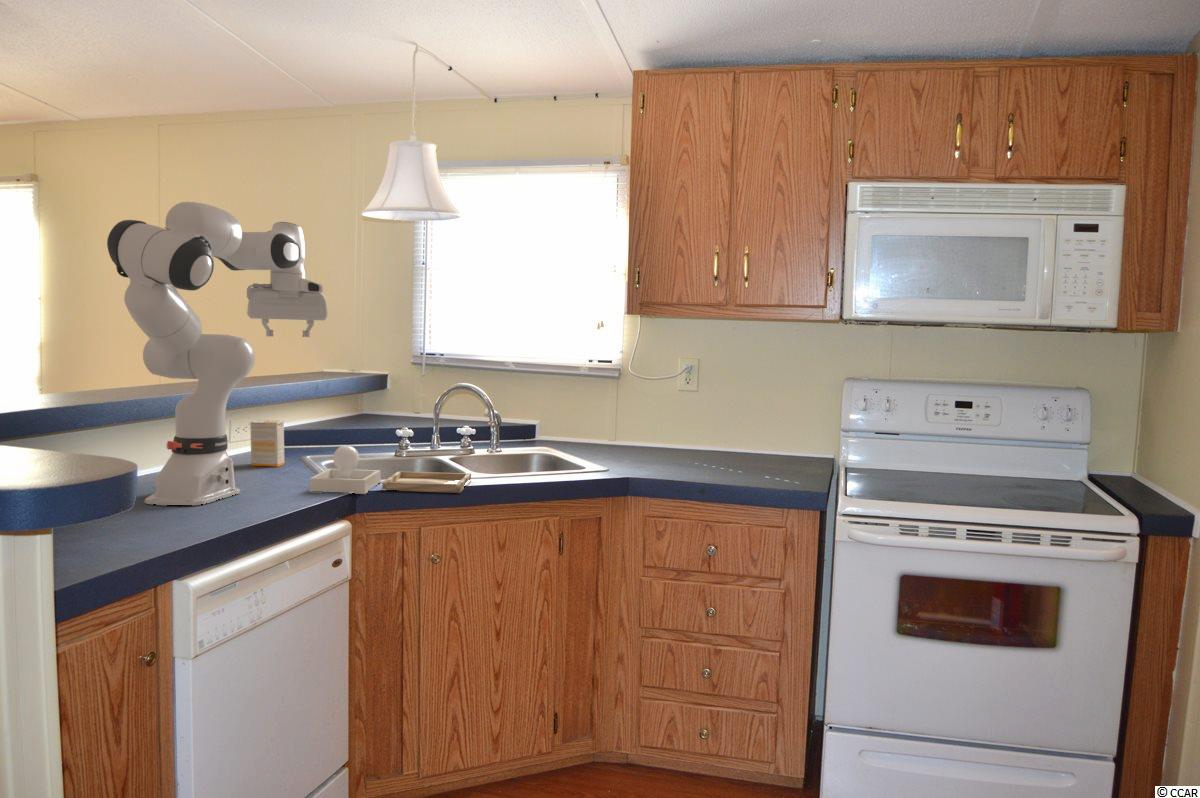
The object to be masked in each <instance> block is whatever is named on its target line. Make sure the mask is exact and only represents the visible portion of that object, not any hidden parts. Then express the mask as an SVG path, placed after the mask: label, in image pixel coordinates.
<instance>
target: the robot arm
mask: <svg viewBox="0 0 1200 798" xmlns="http://www.w3.org/2000/svg"><path fill="white" fill-rule="evenodd" d="M106 247H107V251H108V254H109V258H110V259H111V261H112V263H114V265H115V266H116V267H115V268H116V272H117V273H118V274H119V276H121V277H123V278H128V279H129V285H128V286H127V288H126V290H125V292H124V295H123V296H124V304H125V307H126V309H127V310H128V312H129V314H130V316H131V317H132V320H133V321H134V322H135V323H136V325H137V327H139V329H141V331H142V332H143V333H144V334H145V335H146V336H147V338H148V340H147V342H146V343H145V345H144V347H143V350H142V360H143V364H144V365H145V367H146V369H147V370H148V371H149V373H150V374H152V375H155V376H159V377H163V378H168V379H173V380H174V379H177V380H178V379H180V380H181V379H183V380H197V387H196V389H195V391H194V392H192V393H189V394H188V395H186V396H184V397H182V398H181V399H179V401H178V402H177V403H176V406H175V409H174V410H175V411H174V415H175V416H174V417H175V421H174V422H175V436H173V439H172V440H169V441H167V442H166V449H167V450H171V451H170V452H171V455H170V456H169V459H167V460H166V463H165V464H164V465H163V467H162V468H161V470H160V471H159V473H158V475H157V477H156V482H155V484H156V485H155V488H156V490H155V492H154V493H153V494H150V495H149V496H147V497H146V498H144V503H145V504H146V505H147V504H148V505H153V504H156V505H155V506H167V505H192V506H202V505H201V504H203V505H207V504H209V503H212V502H216V500H217V501H219V500H218V499H220V500H223V499H225V498H229V497H232V495H233V496H236V495H239V494H241V489H240V487H239V488H238V487H236V482H235V471H234V461H233V459H232V458H231V457H230V455H228V452H227V450H228V444H229V440H228V435H227V434H226V416H227V415H226V413H227V405H228V401H229V397H230V395H231V393H232V391H233V389H234V388H235V386H236V385H237V384H238V383H239V382H241V381H242V380H243V379H244V378H245V377H247V376H248V375H249V374H250V373H251V371H252V369H253V368H254V365H255V360H256V358H255V356H256V355H255V351H254V348H253V346H252V344H251V343H250V342H249V341H248V340H247V339H246V338H242V337H239V336H235V335H229V334H214V333H213V334H212V333H209V334H208V333H202V330H203V327H202V321H201V319H200V317H199V316H198V315H197V313H196V312H195V311H194V310H193V308H192V307H191V306H190V305H189V304H188V303H187V301H186V300H185V299H184V297H183V296H182V295H181V294H180V293H179V292H178V290H183V291H197V290H200V289H201V288H203V287H204V286H205V285H206V284H207V283H208V282H209V280H210V279H211V277H212V275H213V272H214V267H215V264H214V258H215V259H218V260H219V261H220V262H222V263H223V265H224V266H225V267H226V268H228V269H229V270H231V271H234V272H235V271H236V272H237V271H245V270H247V271H248V270H250V271H267V270H268V271H270V275H269V276H270V277H269V278H270V279H269V280H270V281H269V282H270V283H252V284H251V285H248V287H247V289H246V297H247V300H248V301H247V309H246V311H247V312H246V314H247V317H248V318H250V319H254V320H257V319H258V320H259V319H260V320H261V325H262V326H263V328H264V330H265V337H274V329H270V327H269V325H268V324H269V323H270V321H269V320H291V321H292V320H293V321H294V320H298V321H306V325H307V327H306V329H305V330H302V338H310V336H311V335H310V332H311V330H312V328H313V327H314V325H315V321H325V320H326V319H327V318H328V304H327V300H326V296H325V295H324V294H323V292H324V286H323V285H322V284H321V283H318V282H314V281H312V280H309V279H306V271H305V266H304V265H305V260H306V244H305V236H304V231H303V229H302V227H301V226H299V225H298V224H296V223H292V222H287V221H278V222H275V223H273V224H272V227H271V229H270V230H268V231H243V230H242V226H241V223H240V222H239V219H237V218H236V217H235V216H234V215H232V214H231V213H229V212H228V211H226V210H223V209H221V208H219V207H217V206H213V205H210V204H207V203H203V202H196V201H181V202H178V203H176V204H174V205H173V206H172V207H171V208H170V209H169V210H168V212H167V213H166V216H165V227H164V228H163V227H160V226H156V225H151V224H149V223H147V222H145V221H142V220H135V219H124V220H120V221H119V222H117V223H116V224H115V225H114V226H113V227H112V228H111V230H110V232H109V233H108V236H107V240H106ZM235 494H236V495H235ZM222 498H223V499H222ZM206 503H207V504H206Z"/></svg>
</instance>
